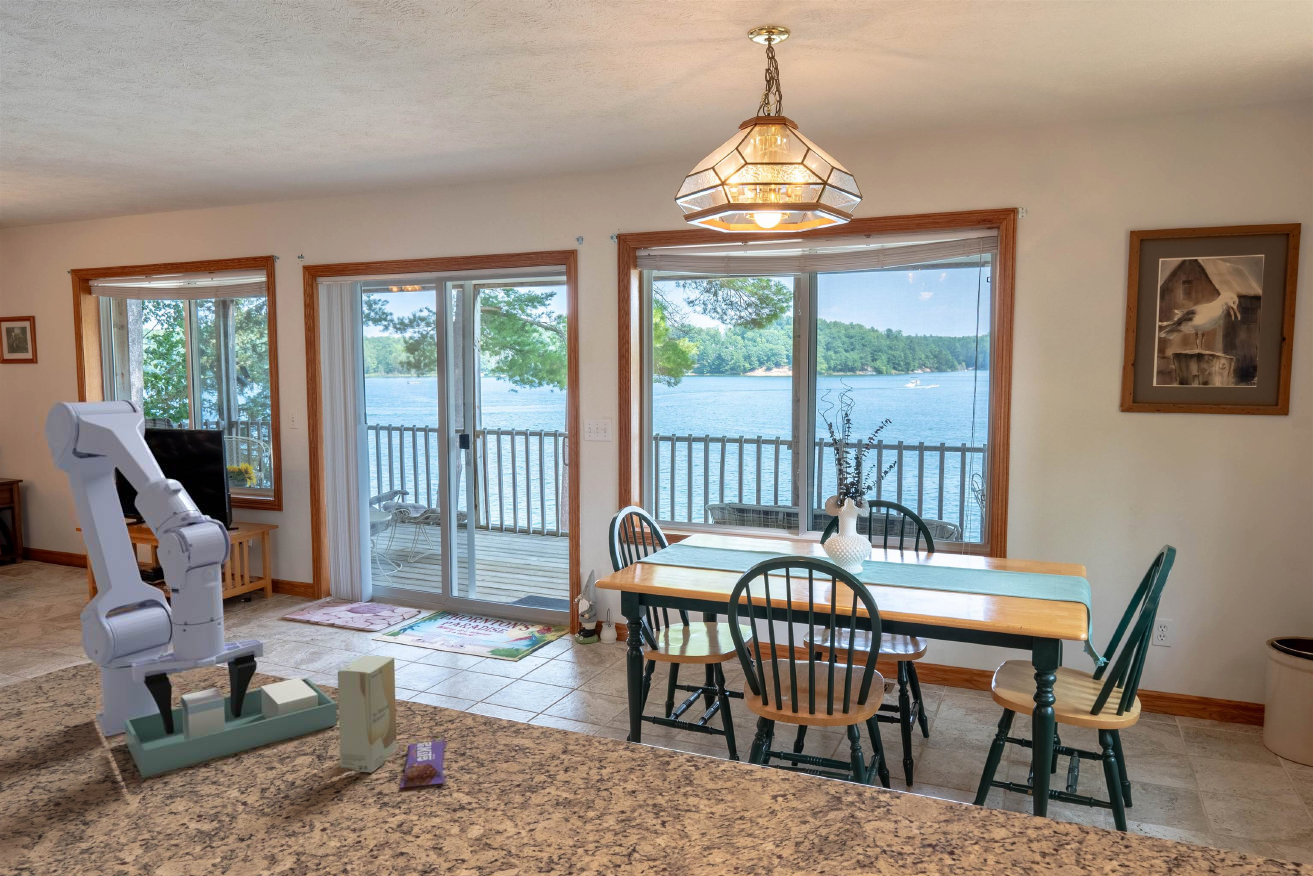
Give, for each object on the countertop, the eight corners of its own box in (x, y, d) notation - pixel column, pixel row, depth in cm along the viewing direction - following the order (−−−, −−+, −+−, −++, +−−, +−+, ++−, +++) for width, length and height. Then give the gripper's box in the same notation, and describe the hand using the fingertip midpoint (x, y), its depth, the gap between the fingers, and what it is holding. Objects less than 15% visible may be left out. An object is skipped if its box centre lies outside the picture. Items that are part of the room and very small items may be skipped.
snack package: (406, 736, 107) (447, 733, 108) (406, 751, 107) (447, 747, 108) (399, 779, 96) (444, 774, 97) (399, 795, 96) (445, 791, 97)
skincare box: (372, 774, 100) (368, 673, 99) (338, 771, 101) (334, 671, 100) (399, 750, 106) (396, 655, 105) (367, 747, 107) (364, 653, 106)
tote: (126, 746, 107) (124, 720, 107) (307, 701, 122) (307, 677, 121) (142, 781, 98) (141, 752, 98) (337, 728, 113) (336, 702, 112)
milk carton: (183, 741, 108) (180, 695, 107) (218, 732, 110) (216, 687, 110) (190, 752, 105) (187, 705, 104) (226, 742, 107) (224, 697, 107)
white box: (262, 714, 116) (260, 686, 116) (299, 705, 119) (298, 677, 119) (279, 733, 110) (278, 704, 109) (318, 723, 113) (317, 694, 113)
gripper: (136, 638, 99) (142, 750, 100) (268, 614, 108) (272, 717, 109) (126, 624, 104) (133, 731, 105) (252, 602, 113) (257, 701, 114)
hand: (203, 723), depth 108 cm, fingers open, 7 cm apart
